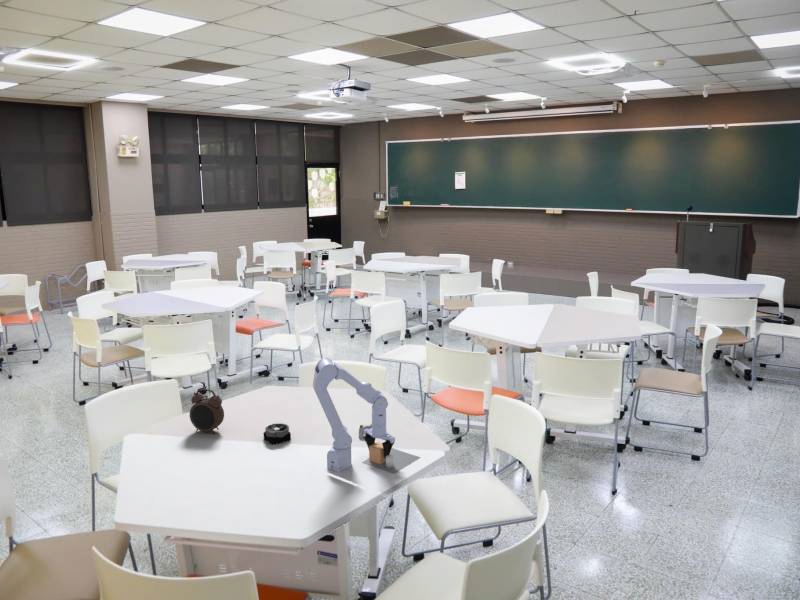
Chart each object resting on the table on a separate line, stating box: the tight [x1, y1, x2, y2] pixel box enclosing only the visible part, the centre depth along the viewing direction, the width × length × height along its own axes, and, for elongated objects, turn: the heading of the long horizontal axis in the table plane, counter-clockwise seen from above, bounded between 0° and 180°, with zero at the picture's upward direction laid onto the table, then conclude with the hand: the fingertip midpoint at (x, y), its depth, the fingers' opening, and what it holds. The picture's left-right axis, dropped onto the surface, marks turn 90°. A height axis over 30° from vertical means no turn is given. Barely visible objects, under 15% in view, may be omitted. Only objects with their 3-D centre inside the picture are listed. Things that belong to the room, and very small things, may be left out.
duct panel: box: [361, 447, 421, 475], centre depth 244 cm, size 18×16×5 cm
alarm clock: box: [189, 388, 225, 435], centre depth 272 cm, size 14×7×20 cm, turn 76°
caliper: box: [358, 423, 372, 439], centre depth 275 cm, size 21×1×6 cm, turn 158°
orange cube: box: [368, 441, 386, 464], centre depth 244 cm, size 6×6×6 cm
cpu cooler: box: [263, 423, 292, 446], centre depth 266 cm, size 10×6×10 cm
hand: (379, 455), depth 244 cm, fingers open, 7 cm apart
